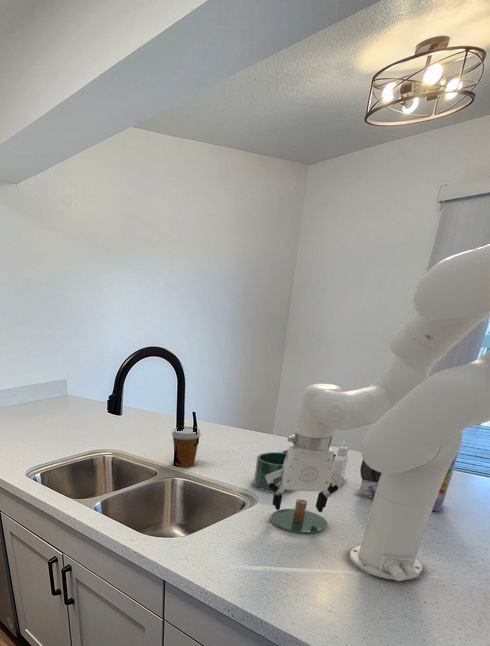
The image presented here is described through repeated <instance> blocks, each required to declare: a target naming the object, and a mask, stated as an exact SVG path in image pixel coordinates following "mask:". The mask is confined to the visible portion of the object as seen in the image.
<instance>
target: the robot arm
mask: <svg viewBox="0 0 490 646" xmlns="http://www.w3.org/2000/svg"><path fill="white" fill-rule="evenodd" d="M413 306H414V309H415V312H414V313H413V314H412V315H411V316H410V317H409V318H408V319H407V320H406V321H405V322H404V323H403V324H402V325H401V327H400V328H398V330H397V331H396V332H395V333H394V334H393V335H392V337H391V338H390V341H389V348H390V350H391V352H392V354H393V355H394V358H393V360H392V362H391V364H390V365H389V366H388V368H387V369H385V370H384V372H383V373H382V374H381V375H380V376H379V377H378V378H376V380H375V381H374V382H373V383H372V384H370V385H369V386H368V387H363V388H358V389H351V390H348V391H344V390H343V389H342V387H340V386H339V385H337V384H332V383H314V384H310V385H308V386H306V387H305V389H304V390H303V395H302V398H301V399H302V400H301V404H300V409H299V413H298V419H297V424H296V430H295V431H294V434H293V435H288V436H287V442H289V443H291V444H290V445H289V448H288V449H287V450H288V452H287V454H286V457H285V460H284V463H283V467H282V469H280V470H277V471H275V472H272V473H270V474H267V475H266V476H265V478H266V480H267V483H268V485H269V487H270V489H271V490H272V491H271V492H273V497H272V506H273V507H274V508H275V511H279V510H281V505H282V499H283V495H282V494H283V492H286V491H285V490H286V489H287V490H290V491H297V492H319V493H317V494H318V495H317V499H316V504H315V509H316V510H317V512H319V513H323V510H324V508H326V506H327V503H328V498H330V497H331V495H333V494H334V493H335V492H337V491H338V490H339V489H340V487H341V486H342V485H343V484H344V483H345V482H346V479H345V478H343V477H341V476H339V475H337V474H335V473H334V472H332V467H333V456H334V454H335V451H334V448H332V447H331V444H332V440H333V437H334V432H335V430H338V431H349V430H353V429H357V428H362V427H364V426H369V425H371V426H370V427H369V429H368V430H367V431H366V433H365V434H364V437H363V439H362V441H361V446H360V451H361V452H360V453H361V457H362V461H363V460H364V461H365V463H366V464H367V465H368V466H369V467H370V468H372V469H373V470H375V471H378V472H381V473H382V474H381V476H380V479H379V482H378V485H377V489H376V492H375V496H374V499H373V498H372V504H371V507H370V510H369V514H368V518H367V520H366V521H367V522H366V525H365V529H364V533H363V536H362V540H361V544H359V545H356V546H354V547H353V548H352V549H350V551H349V559H350V561H351V562H352V563H353V564H354V565H355V566H356V567H358V568H359V569H361V570H363V571H364V572H365V573H367V574H369V575H371V576H374V577H377V578H381V579H384V580H385V579H386V580H391V581H397V582H402V581H407V580H412V579H416V578H418V577H419V576H420V574H421V573H422V571H423V564H422V563H421V561H420V560H419V559H418V558H417V556H418V553H419V550H420V547H421V544H422V541H423V538H424V535H425V532H426V529H427V526H428V524H429V520H430V517H431V516H432V513H433V510H432V509H433V507H434V504H435V501H436V499H437V496H438V493H439V490H440V488H441V485H442V482H443V480H444V478H445V475H446V473H447V471H448V469H449V467H450V466H451V464H452V462H453V460H454V458H455V456H456V454H457V452H458V450H459V451H460V449H461V446H462V443H461V442H463V431H464V430H467V429H468V428H472V427H476V426H478V425H482V424H485V423H487V422H490V349H489V350H488V351H486V352H485V353H484V354H483V355H481V356H479V357H478V358H476V359H475V360H473V361H472V362H468V363H466V364H462V365H458V366H453V367H449V368H445V369H442V370H439V371H437V372H436V373H433V374H432V375H430V374H431V372H432V370H433V368H434V366H435V365H436V364H437V363H438V362H439V361H441V359H443V358H444V357H445V355H447V354H448V353H449V352H450V351H451V350H452V349H453V348H454V347H455V346H457V344H459V343H460V342H461V341H462V340H463V339H464V338H465V337H467V336H468V334H470V333H471V332H472V331H473V330H474V329H475V328H477V326H479V325H480V324H481V323H482V322H484V320H485V319H486V318H488V317H489V316H490V244H487V245H484V246H481V247H476V248H474V249H469V250H466V251H463V252H461V253H457V254H454V255H451V256H449V257H447V258H444V259H442V260H440V261H439V262H437V263H436V264H434V265H433V266H432V267H431V268H430V269H429V270H427V272H425V274H424V275H423V276H422V277H421V279H420V280H419V281H418V283H417V285H416V287H415V290H414V294H413ZM460 445H461V446H460ZM459 448H460V449H459ZM278 477H280V481H281V482H279V483H278V484H277V485H275V484H274V483H273V479H275V478H278ZM331 479H333V480H335V482H334V483H333V484H330V480H331Z"/></svg>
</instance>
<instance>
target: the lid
mask: <svg viewBox="0 0 490 646" xmlns="http://www.w3.org/2000/svg"><path fill="white" fill-rule="evenodd" d="M307 506H308V501H307V500H306V499H296V501H295V505H294V508H284V509H280V510H275V511H274V512H272V514H271V516H270V522H271V523H272V524H273V525H274V526H275V527H276V528H278V529H280V530H282V531H286V532H289V533H293V534H300V535H313V534H318V533H321V532H323V531H325V530H326V529H327V526H328V522H327V520H326V519H325V517H323V516H321V515H319V514H318V513H315V512H312V511H309V510H307Z"/></svg>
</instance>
